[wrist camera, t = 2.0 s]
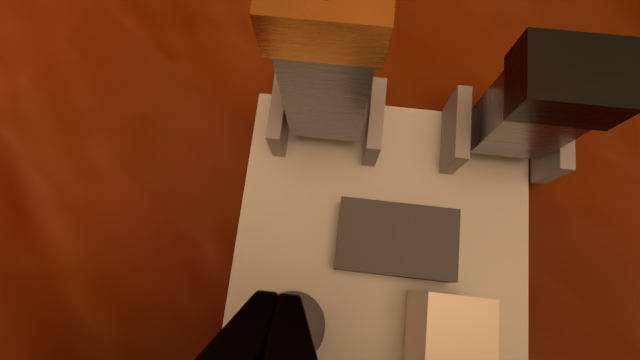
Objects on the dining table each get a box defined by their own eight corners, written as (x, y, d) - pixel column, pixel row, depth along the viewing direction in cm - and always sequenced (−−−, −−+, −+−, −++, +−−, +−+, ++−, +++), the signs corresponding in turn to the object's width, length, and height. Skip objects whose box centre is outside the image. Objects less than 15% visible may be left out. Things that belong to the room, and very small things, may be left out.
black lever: (538, 168, 19) (644, 110, 13) (460, 160, 19) (527, 98, 13) (537, 118, 20) (640, 37, 13) (462, 110, 20) (527, 26, 13)
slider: (459, 397, 18) (497, 429, 14) (401, 390, 18) (421, 419, 14) (463, 296, 19) (499, 299, 15) (407, 290, 19) (428, 291, 15)
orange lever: (361, 151, 19) (392, 27, 10) (286, 143, 19) (249, 14, 10) (366, 102, 20) (400, -59, 11) (293, 94, 20) (263, -71, 11)
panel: (534, 439, 18) (583, 476, 15) (216, 397, 19) (190, 423, 15) (533, 126, 21) (573, 96, 18) (262, 99, 22) (250, 65, 19)
